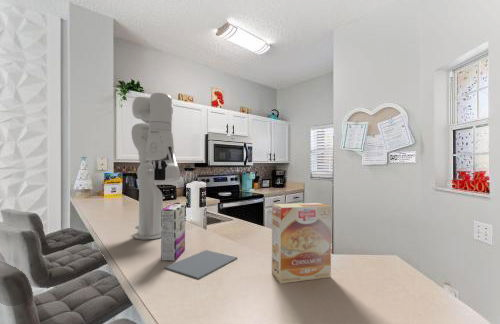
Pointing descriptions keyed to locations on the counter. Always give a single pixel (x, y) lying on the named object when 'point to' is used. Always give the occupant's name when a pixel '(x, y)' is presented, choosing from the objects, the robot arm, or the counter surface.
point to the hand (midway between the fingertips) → (159, 180)
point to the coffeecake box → (301, 241)
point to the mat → (201, 264)
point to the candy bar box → (172, 232)
